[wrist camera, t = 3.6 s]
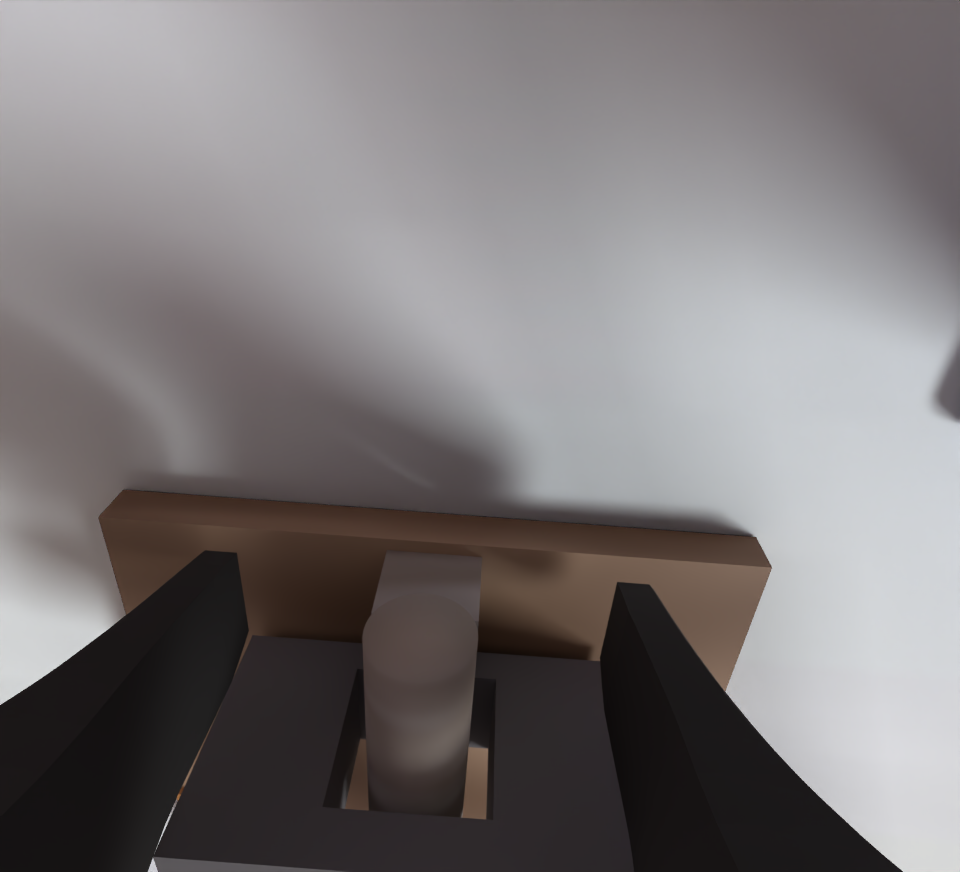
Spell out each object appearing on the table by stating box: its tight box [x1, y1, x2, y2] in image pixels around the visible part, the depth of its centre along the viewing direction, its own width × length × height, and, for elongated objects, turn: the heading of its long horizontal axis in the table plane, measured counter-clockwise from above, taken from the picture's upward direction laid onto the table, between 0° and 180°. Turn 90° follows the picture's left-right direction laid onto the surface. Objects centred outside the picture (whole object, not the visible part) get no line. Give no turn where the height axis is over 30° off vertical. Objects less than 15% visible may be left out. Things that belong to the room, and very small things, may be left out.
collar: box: [153, 635, 634, 872], centre depth 13 cm, size 2×8×5 cm, turn 86°
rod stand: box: [98, 490, 772, 819], centre depth 16 cm, size 16×14×5 cm
